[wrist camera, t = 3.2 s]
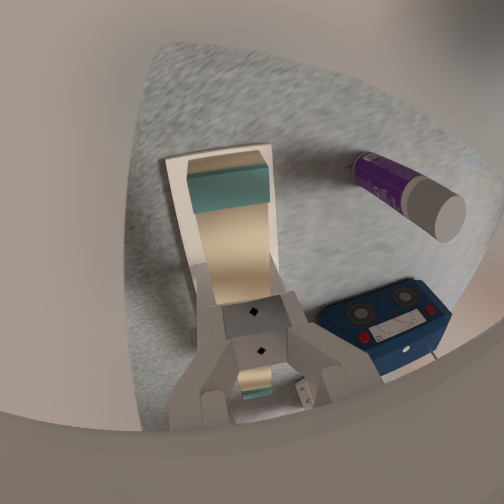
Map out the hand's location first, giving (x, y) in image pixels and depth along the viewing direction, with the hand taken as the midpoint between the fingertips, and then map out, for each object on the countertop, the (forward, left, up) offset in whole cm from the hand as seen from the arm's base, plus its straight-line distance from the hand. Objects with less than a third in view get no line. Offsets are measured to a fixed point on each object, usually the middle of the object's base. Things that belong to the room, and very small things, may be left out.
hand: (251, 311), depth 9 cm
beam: (-12, 0, -12) cm, 17 cm away
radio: (-26, -22, -23) cm, 41 cm away
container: (-2, -18, -22) cm, 29 cm away
